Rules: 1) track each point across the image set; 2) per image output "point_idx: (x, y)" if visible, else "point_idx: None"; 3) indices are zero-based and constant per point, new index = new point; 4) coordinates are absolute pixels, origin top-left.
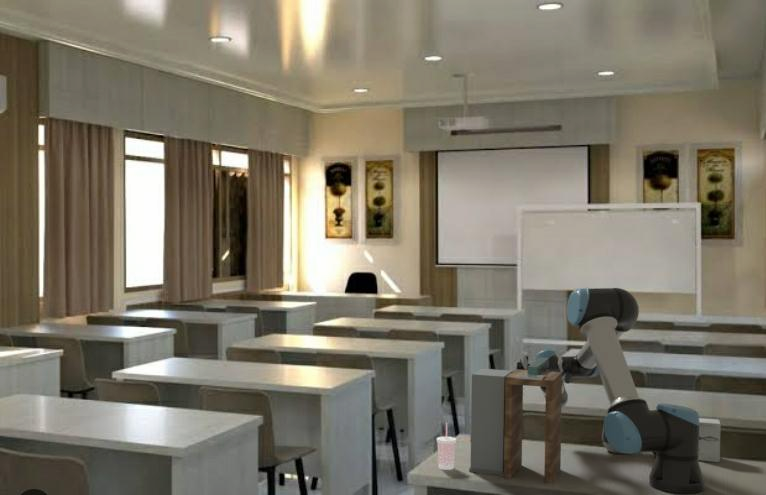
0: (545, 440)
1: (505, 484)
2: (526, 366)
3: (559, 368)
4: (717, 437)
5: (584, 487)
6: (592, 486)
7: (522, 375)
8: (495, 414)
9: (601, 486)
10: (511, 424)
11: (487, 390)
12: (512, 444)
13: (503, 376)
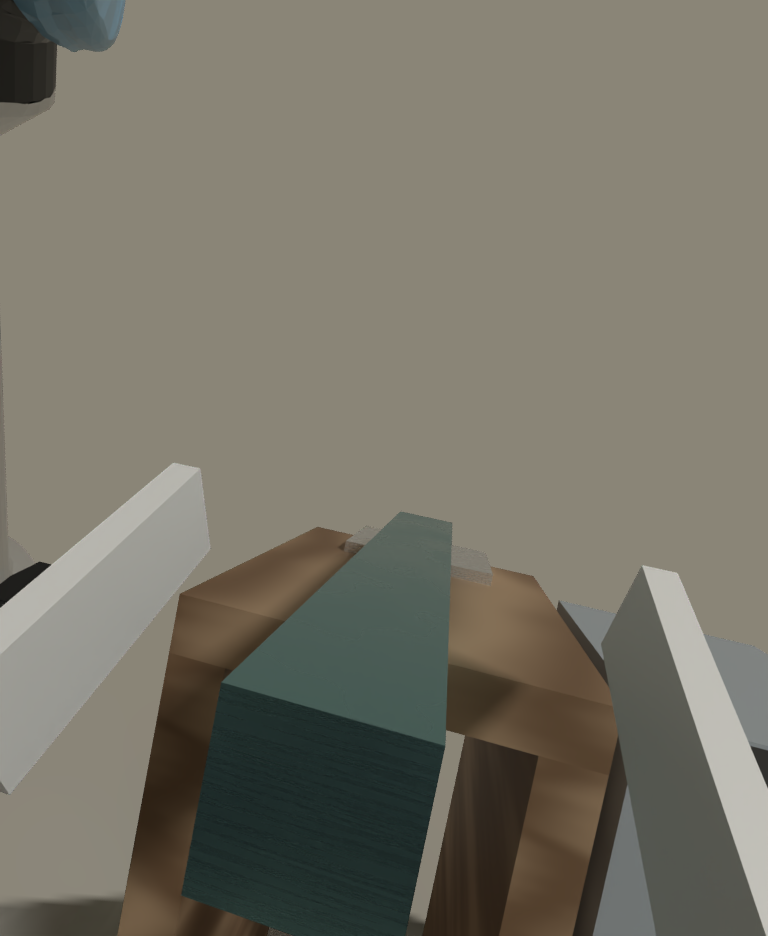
0: None
1: (414, 928)
2: (664, 902)
3: (117, 661)
4: None
5: (110, 910)
6: (63, 926)
7: (458, 553)
8: None
9: (19, 929)
10: (455, 784)
11: None
12: (434, 904)
13: (564, 602)
